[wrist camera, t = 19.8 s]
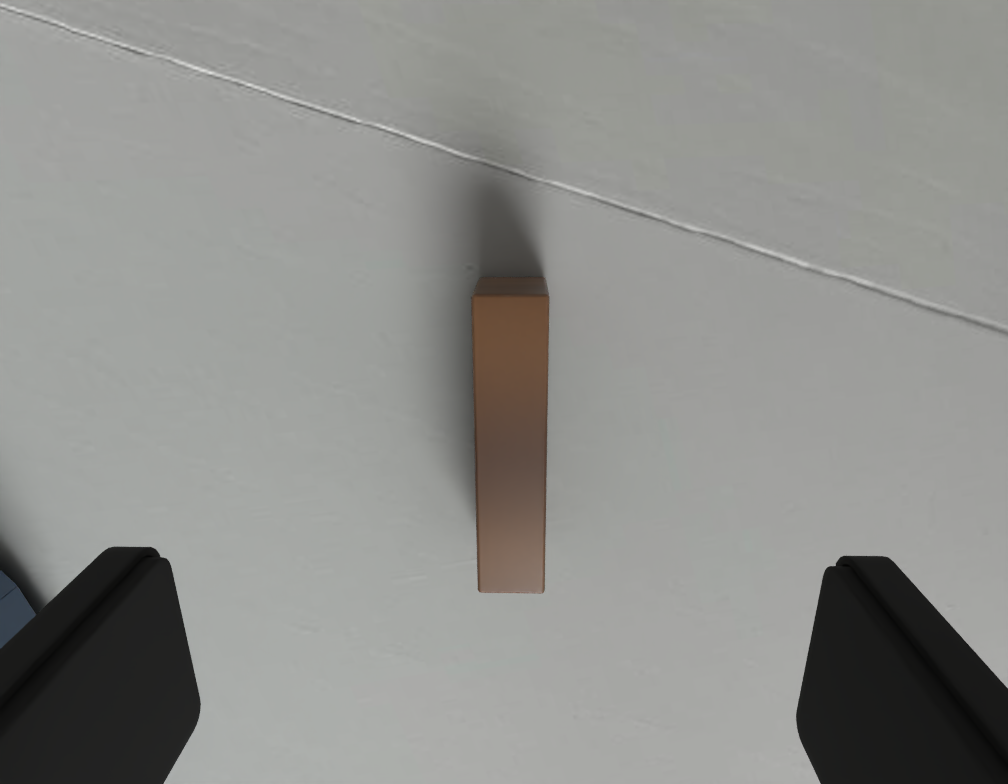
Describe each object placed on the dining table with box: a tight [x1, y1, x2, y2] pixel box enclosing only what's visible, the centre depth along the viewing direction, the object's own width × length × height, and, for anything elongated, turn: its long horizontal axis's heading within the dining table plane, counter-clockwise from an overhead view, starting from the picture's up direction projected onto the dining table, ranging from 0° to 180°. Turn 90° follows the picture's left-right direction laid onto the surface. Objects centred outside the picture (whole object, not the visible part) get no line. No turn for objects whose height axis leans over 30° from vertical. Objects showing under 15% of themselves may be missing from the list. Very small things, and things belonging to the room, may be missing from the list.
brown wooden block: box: [471, 277, 549, 593], centre depth 19 cm, size 9×2×3 cm, turn 0°
